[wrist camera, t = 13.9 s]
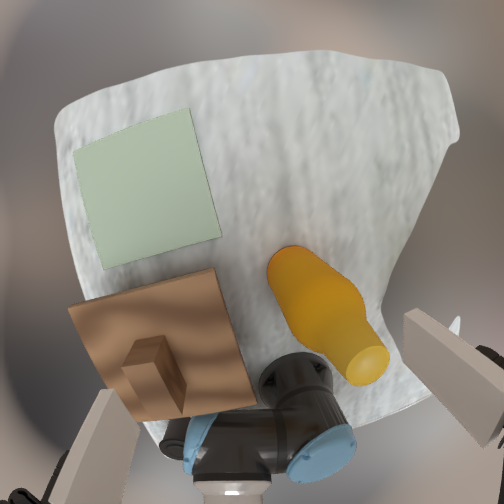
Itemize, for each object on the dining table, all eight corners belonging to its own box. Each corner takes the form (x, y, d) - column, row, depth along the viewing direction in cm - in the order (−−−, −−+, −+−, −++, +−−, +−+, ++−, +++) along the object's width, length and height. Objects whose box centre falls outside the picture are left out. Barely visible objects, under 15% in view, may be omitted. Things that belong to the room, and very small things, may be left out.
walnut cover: (256, 397, 36) (262, 434, 29) (132, 416, 36) (121, 449, 28) (214, 267, 32) (211, 289, 24) (72, 304, 31) (44, 328, 24)
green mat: (221, 235, 46) (221, 236, 45) (105, 268, 45) (103, 270, 45) (189, 108, 41) (188, 107, 40) (75, 152, 40) (72, 151, 40)
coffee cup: (170, 432, 55) (165, 463, 45) (160, 410, 53) (152, 441, 43) (203, 431, 55) (201, 463, 45) (194, 409, 53) (191, 441, 44)
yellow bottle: (311, 237, 48) (413, 299, 19) (322, 286, 50) (411, 382, 21) (259, 253, 47) (306, 342, 19) (273, 302, 49) (323, 421, 21)
